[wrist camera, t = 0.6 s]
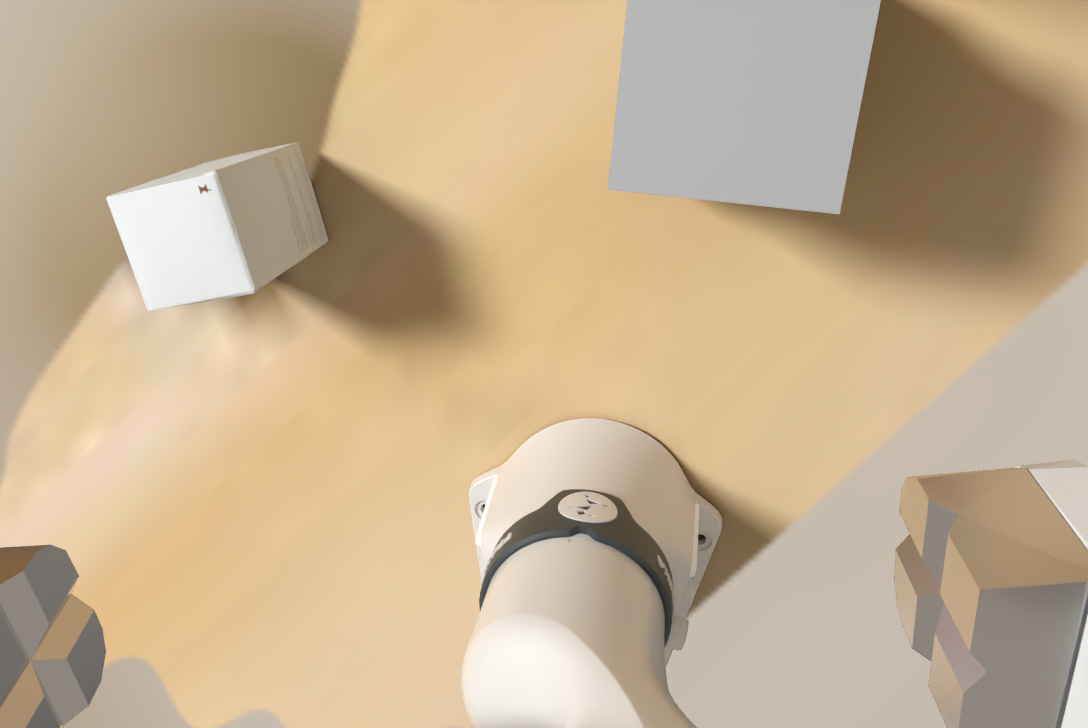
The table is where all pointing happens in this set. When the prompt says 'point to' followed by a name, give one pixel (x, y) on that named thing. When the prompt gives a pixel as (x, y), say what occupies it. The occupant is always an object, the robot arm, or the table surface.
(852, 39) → the slate pedestal
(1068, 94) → the table surface
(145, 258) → the supplement box
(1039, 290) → the table surface
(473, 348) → the table surface
